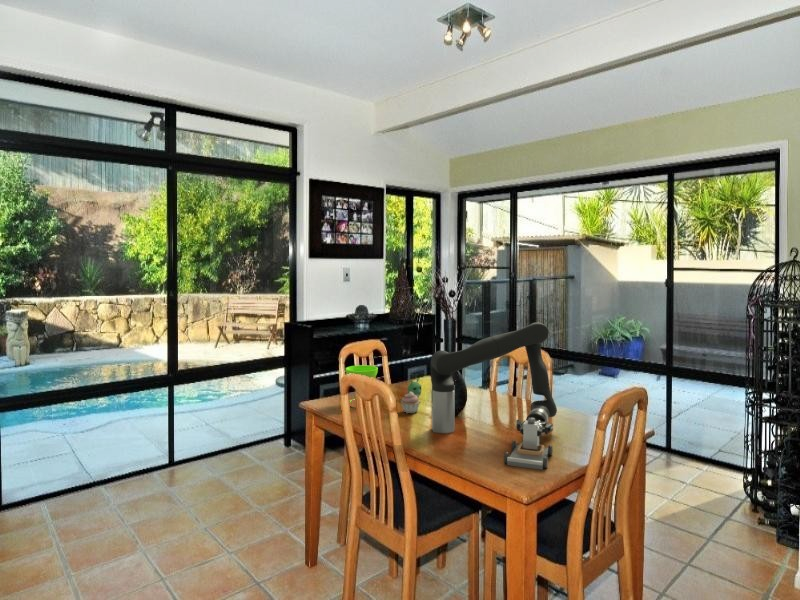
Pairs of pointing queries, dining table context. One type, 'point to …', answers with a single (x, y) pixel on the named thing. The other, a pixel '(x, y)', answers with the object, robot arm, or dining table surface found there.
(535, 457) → the chassis
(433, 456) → the dining table surface
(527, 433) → the block
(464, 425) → the dining table surface
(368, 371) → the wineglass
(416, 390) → the alien toy
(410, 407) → the cupcake
